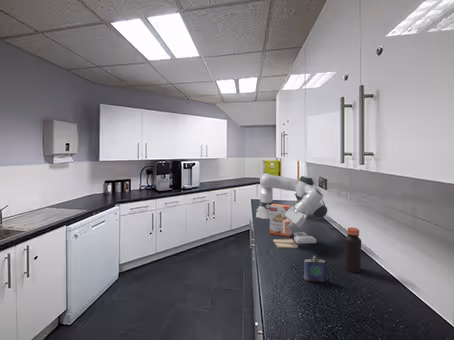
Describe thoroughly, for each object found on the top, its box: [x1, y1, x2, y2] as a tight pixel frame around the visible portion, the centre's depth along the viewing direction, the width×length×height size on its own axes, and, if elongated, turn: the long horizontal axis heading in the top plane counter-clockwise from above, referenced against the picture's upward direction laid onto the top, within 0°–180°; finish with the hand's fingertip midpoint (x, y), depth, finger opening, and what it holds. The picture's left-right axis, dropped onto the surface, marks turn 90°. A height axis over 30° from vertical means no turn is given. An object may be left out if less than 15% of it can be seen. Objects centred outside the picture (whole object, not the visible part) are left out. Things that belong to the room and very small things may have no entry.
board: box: [272, 238, 299, 250], centre depth 137 cm, size 12×12×1 cm
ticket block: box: [283, 220, 292, 235], centre depth 136 cm, size 4×4×8 cm
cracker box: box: [269, 203, 292, 238], centre depth 153 cm, size 14×6×21 cm, turn 62°
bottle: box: [344, 227, 362, 274], centre depth 105 cm, size 7×7×20 cm
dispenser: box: [293, 231, 317, 245], centre depth 144 cm, size 14×12×2 cm
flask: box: [303, 255, 327, 282], centre depth 98 cm, size 9×3×11 cm, turn 83°
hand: (285, 226), depth 135 cm, fingers closed on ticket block, 4 cm apart
